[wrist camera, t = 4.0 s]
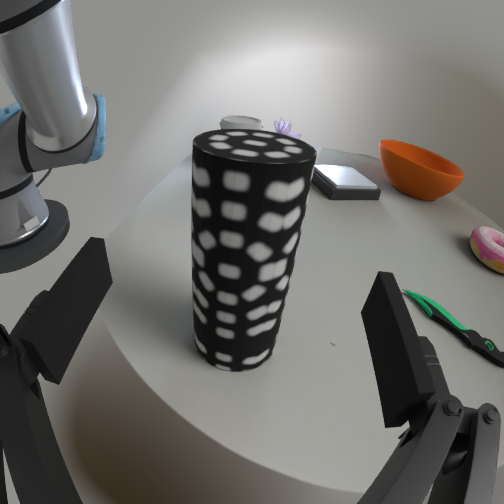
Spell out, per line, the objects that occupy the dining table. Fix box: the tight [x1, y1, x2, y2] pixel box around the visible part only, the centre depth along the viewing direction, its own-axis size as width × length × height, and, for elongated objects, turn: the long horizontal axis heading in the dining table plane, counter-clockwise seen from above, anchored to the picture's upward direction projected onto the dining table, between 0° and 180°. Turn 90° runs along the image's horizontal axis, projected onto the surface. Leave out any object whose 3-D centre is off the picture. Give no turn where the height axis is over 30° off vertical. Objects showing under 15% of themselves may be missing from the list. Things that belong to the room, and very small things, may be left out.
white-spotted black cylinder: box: [191, 129, 317, 372], centre depth 26 cm, size 8×8×20 cm
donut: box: [470, 226, 504, 274], centre depth 50 cm, size 14×13×5 cm
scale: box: [311, 165, 381, 200], centre depth 69 cm, size 14×13×3 cm
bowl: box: [379, 140, 464, 201], centre depth 74 cm, size 25×25×10 cm
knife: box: [403, 289, 504, 367], centre depth 34 cm, size 23×1×5 cm
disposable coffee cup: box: [220, 116, 263, 130], centre depth 68 cm, size 10×10×12 cm
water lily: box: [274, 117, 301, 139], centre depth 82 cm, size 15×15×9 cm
